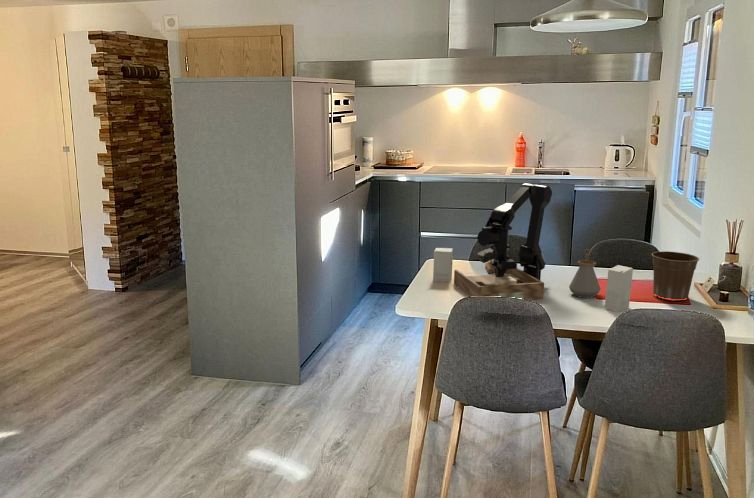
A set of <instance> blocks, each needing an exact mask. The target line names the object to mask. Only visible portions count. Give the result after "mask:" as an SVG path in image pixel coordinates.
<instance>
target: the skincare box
mask: <svg viewBox="0 0 754 498" xmlns="http://www.w3.org/2000/svg"><path fill="white" fill-rule="evenodd" d="M633 272H634V268H632V267H630V266H629V267H628V266H623V265H620V264H617V265H615V266H614V267H611V268H609V269H608V271H607V281H606V282H607V283H606V290H605V301H604V309H606V310H608V309H609V311H613V312H617V313H621V312H622V311H624V310H626V309H628V308H629V307H630V303H631V302H630V300H631V292H632V291H631V290H632V284H633V283H632V282H633Z"/></svg>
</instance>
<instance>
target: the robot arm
mask: <svg viewBox="0 0 754 498" xmlns="http://www.w3.org/2000/svg"><path fill="white" fill-rule="evenodd" d="M552 196H553V190H552V189H551V187H550V186H548V185H542V184H533V183H523V184H522V185H520V188H519V189H518V190H517V191H516V192H515V193H514V194H513V195H512V196H511V197H510V198H509V199H508V200H507V201H506V202H505V203H503V204H501V205H498V206H497V207H496V208H494V209H493V210H492V211H491V214H490V215H489V218H488V219H487V221H486V223H485V226H484V227H481V231H479V232H478V234H477V238H476V239H477V243H478V244H479V245H480V246H483V247H486V246H489V248H485V249H483V250H481V251H479V252H477V256H478V261H479V262H481V263H482V264H486V263H487V261H489V260H491V262H490V263H489V264H490V265H491V266H492V267H493V268H494V272H495V273H494V275H495V276H496V277H503V276H504V274H505V273H506V271H507V269H517V268H518V263H517V262H516V261H515V260H513V259H511V258H510V255H508V254H509V253H508V250H509V249H510V248H511V247H510V246H511V245H509V231H511V230H513V228H512V226H511V225H510V224H511V223H512V221H514V219H515V217H516V216H515V215H516V214H515V213H517V211H518V210H519V209H520V208H521V206H523V204H525V202H526V201H528V199H529V202H530V205H531V210H530V215H529V217H530V218H529V223H528V228H527V235H526V240H525V243H524V244H523V245H520V246H519V253H518V261H519V265H520V267H523V270H522V271H524V272H526V273H527V274H529V275H531V276H533V277H535V278H536V279H538V280H540V281H541V276H542V275H541V274H542V271H543V269H545V267H546V262H545V260H544V259H543V258H542V249H541V246H540V244H539V243H540V238H541V231H542V225H543V222H544V221H543V220H544V215H545V209H546V208H547V206H548V205H549V204H550V202H551V199H552ZM497 224H500V225H497ZM508 248H509V249H508Z"/></svg>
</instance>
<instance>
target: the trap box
mask: <svg viewBox="0 0 754 498" xmlns="http://www.w3.org/2000/svg"><path fill="white" fill-rule="evenodd" d="M453 270H454V272H453V285H454V286H456V287H457V288H458V287H459V288H458V289H459V290H461V291H462V292H464V294H466V293H467V294H468V295H467V294H466V295H467V296H469V297H470V296H501V297H515V298H522V299H526V300H538V299H539V300H540V299H544V293H545V282H544V281H542V280H541V279H540V280H538V279H536V278H535V277H533V276H531V275H529V274H527V273H526V272H524V271H523V270H521V268H518V267H517V269H512V274H504V276H503V277H509V276H510V277H512V278H513V279H515V280H517V284H505V285H495V277H496V276H495V274H481V275H465V274H464V273H463V272H461V271H459V269H453Z"/></svg>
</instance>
